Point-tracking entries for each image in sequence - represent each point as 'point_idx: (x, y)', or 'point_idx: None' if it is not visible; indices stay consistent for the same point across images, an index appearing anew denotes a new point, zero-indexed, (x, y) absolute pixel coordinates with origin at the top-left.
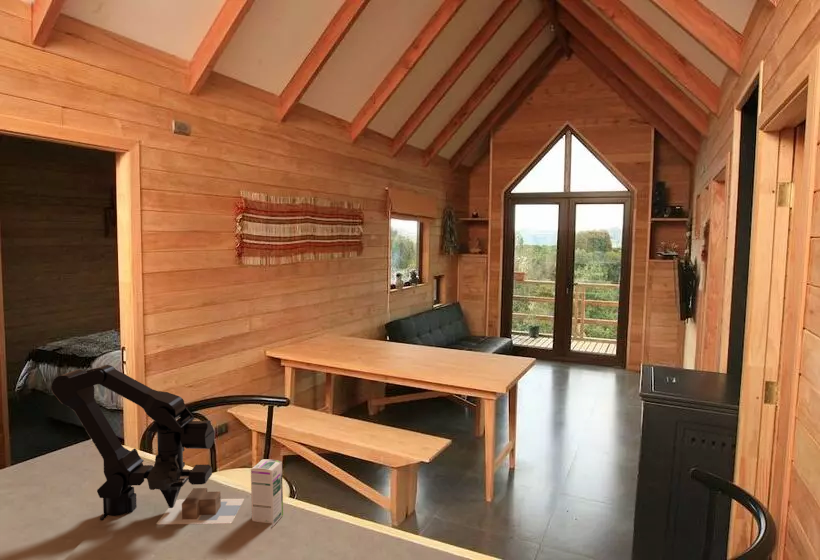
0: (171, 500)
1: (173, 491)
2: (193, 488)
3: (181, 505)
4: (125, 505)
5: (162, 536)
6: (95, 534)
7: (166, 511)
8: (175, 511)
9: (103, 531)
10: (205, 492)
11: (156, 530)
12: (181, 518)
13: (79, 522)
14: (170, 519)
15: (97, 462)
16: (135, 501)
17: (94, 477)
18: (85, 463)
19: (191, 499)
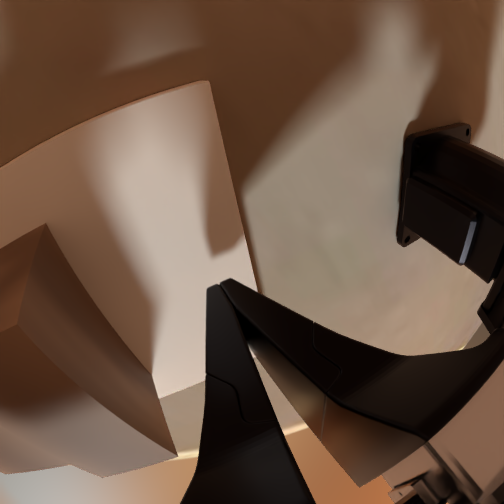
0: (230, 328)
1: (242, 425)
2: (176, 455)
3: (199, 336)
4: (459, 184)
5: (73, 10)
6: (443, 23)
7: (245, 256)
8: (183, 280)
9: (433, 41)
10: (56, 462)
11: (175, 57)
12: (62, 231)
13: (488, 108)
14: (135, 183)
15: (467, 320)
16: (432, 235)
17: (474, 290)
18: (478, 308)
19: (29, 402)
